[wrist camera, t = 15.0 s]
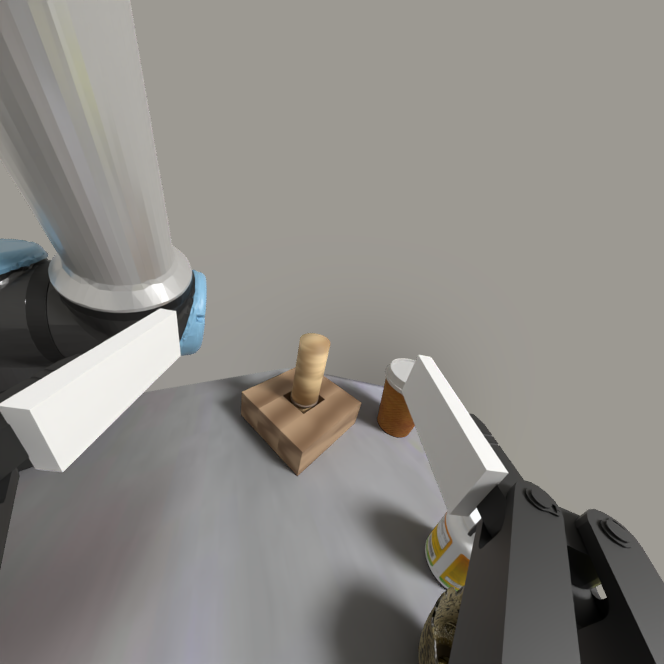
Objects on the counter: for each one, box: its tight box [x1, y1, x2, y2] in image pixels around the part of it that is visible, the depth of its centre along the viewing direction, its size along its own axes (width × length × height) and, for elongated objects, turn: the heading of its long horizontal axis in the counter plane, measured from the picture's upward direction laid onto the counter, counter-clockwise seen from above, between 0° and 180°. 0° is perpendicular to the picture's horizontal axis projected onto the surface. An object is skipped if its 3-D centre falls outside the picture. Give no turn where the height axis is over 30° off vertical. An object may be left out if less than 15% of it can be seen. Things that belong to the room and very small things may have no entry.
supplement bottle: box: [425, 508, 481, 591], centre depth 25 cm, size 5×5×10 cm
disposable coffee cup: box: [377, 358, 415, 437], centre depth 42 cm, size 10×10×12 cm
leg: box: [290, 333, 330, 414], centre depth 38 cm, size 5×5×16 cm
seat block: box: [241, 367, 361, 476], centre depth 40 cm, size 14×14×5 cm
